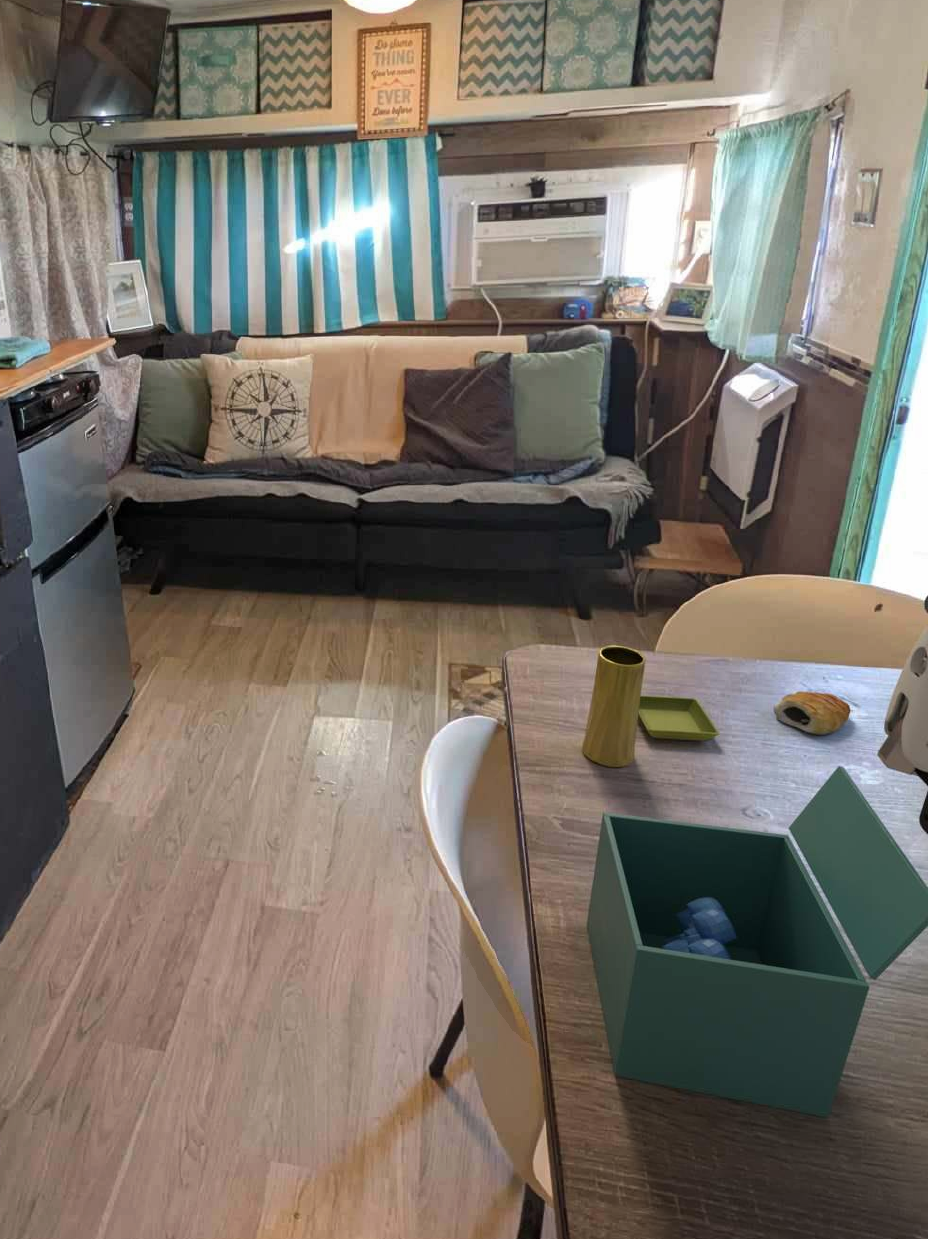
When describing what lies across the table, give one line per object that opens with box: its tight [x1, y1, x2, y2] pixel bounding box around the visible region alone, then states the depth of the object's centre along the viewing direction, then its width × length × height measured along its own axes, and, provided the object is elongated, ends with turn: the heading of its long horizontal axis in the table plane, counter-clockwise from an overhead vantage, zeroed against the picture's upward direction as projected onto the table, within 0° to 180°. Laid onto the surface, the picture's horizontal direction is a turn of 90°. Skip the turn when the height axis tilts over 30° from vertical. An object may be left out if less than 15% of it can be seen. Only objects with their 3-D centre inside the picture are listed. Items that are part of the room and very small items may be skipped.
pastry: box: [772, 691, 851, 736], centre depth 111 cm, size 9×7×4 cm
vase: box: [581, 645, 647, 768], centre depth 105 cm, size 6×6×14 cm
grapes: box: [662, 897, 737, 960], centre depth 69 cm, size 12×7×12 cm, turn 144°
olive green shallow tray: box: [638, 694, 720, 742], centre depth 112 cm, size 9×9×2 cm
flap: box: [788, 765, 928, 981], centre depth 64 cm, size 7×16×1 cm
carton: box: [586, 812, 870, 1119], centre depth 70 cm, size 15×16×14 cm
